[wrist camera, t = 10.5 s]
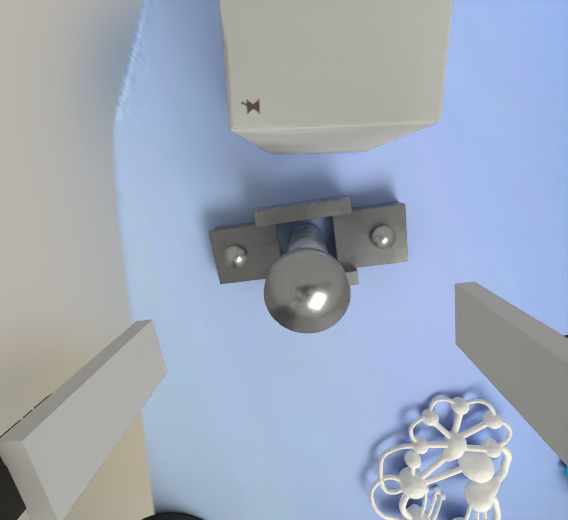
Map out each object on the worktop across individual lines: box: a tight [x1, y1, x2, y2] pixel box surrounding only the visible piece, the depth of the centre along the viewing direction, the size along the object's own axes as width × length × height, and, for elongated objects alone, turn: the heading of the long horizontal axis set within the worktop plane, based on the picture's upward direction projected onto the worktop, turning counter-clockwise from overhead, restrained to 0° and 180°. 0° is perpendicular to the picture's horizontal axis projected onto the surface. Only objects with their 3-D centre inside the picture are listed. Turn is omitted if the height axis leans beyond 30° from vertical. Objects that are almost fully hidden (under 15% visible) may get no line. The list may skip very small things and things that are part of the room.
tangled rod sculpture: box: [369, 397, 512, 520], centre depth 33 cm, size 19×14×4 cm
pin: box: [264, 225, 350, 333], centre depth 23 cm, size 5×5×13 cm
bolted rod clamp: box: [209, 196, 408, 285], centre depth 28 cm, size 17×7×3 cm, turn 99°
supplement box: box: [219, 0, 453, 154], centre depth 18 cm, size 9×9×15 cm
